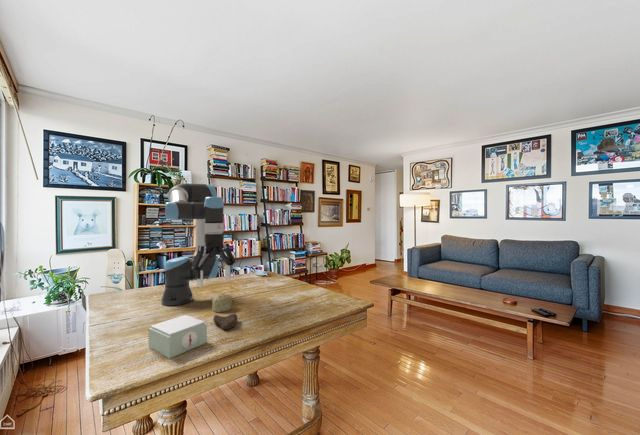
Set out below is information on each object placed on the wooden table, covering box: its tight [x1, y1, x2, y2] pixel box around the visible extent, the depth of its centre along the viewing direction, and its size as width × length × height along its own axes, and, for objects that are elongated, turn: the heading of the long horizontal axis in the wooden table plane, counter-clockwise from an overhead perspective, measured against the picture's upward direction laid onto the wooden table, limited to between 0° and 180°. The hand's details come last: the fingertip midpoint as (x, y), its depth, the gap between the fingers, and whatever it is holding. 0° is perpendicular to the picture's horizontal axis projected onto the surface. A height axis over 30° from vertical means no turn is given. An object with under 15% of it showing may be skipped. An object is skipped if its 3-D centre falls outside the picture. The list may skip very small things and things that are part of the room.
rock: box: [212, 313, 238, 330], centre depth 118 cm, size 11×10×4 cm
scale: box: [148, 314, 208, 359], centre depth 101 cm, size 15×14×8 cm
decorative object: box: [211, 292, 233, 313], centre depth 139 cm, size 9×10×10 cm
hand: (214, 283), depth 118 cm, fingers open, 13 cm apart
